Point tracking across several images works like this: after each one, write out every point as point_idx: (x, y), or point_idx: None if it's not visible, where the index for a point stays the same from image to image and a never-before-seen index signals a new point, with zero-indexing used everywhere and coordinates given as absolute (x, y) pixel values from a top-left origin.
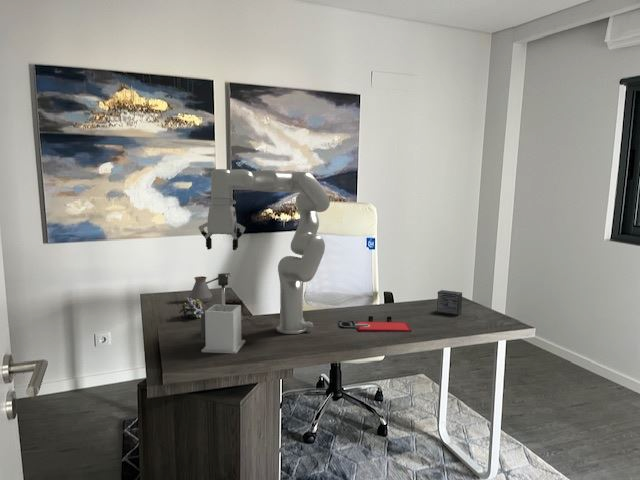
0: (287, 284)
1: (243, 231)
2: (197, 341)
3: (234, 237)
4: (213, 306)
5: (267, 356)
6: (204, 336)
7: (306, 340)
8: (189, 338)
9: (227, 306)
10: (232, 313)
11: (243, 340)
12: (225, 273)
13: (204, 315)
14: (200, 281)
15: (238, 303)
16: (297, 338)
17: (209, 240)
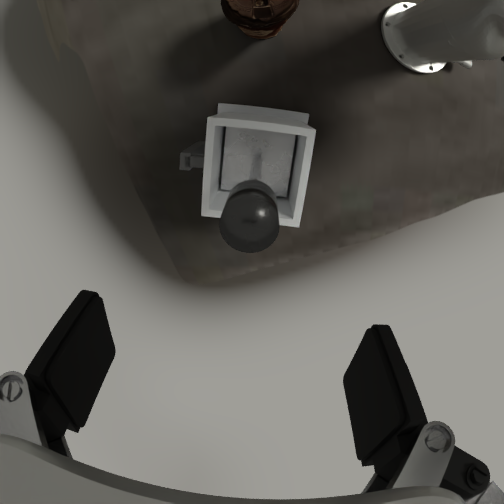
0: (491, 44)
1: (487, 495)
2: (180, 111)
3: (382, 479)
4: (212, 149)
5: (363, 214)
6: (204, 154)
7: (446, 121)
8: (154, 91)
9: (262, 129)
10: (295, 225)
11: (304, 117)
12: (260, 204)
13: (191, 165)
14: None
15: (283, 12)
16: (430, 103)
17: (82, 409)
